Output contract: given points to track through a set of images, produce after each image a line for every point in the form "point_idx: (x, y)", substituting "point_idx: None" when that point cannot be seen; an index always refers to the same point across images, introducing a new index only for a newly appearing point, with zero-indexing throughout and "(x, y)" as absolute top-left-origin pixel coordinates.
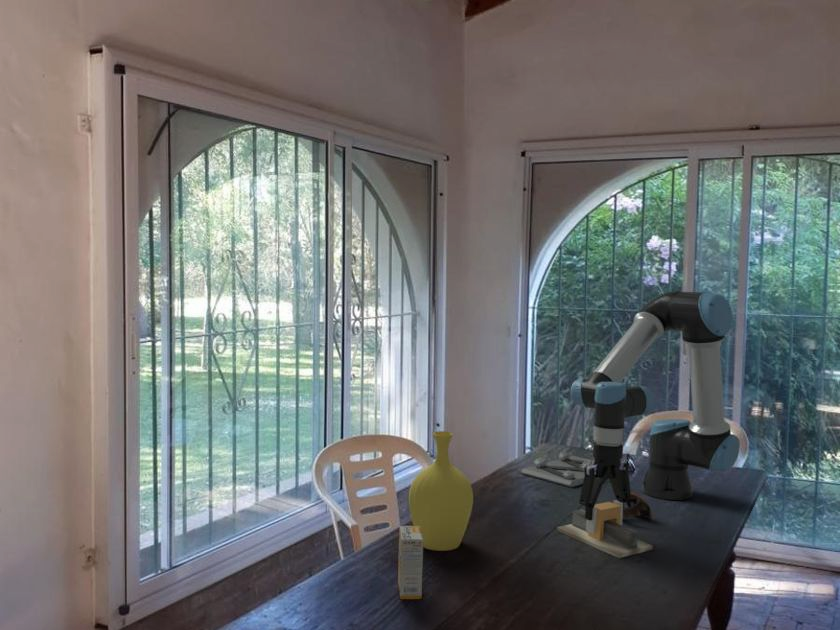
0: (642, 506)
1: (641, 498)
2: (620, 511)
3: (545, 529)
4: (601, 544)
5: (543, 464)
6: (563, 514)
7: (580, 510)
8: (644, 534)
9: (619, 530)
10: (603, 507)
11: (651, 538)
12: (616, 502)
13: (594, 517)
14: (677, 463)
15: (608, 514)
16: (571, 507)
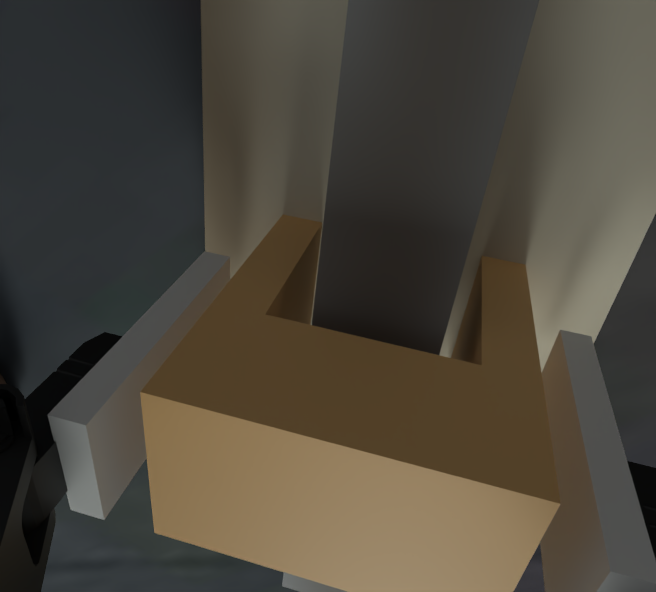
0: None
1: None
2: (150, 353)
3: (522, 581)
4: (612, 202)
5: None
6: (234, 583)
7: (309, 583)
8: (21, 143)
9: (506, 112)
10: (413, 515)
11: (23, 49)
12: (105, 475)
13: (619, 464)
14: None
15: (397, 393)
16: (129, 585)
